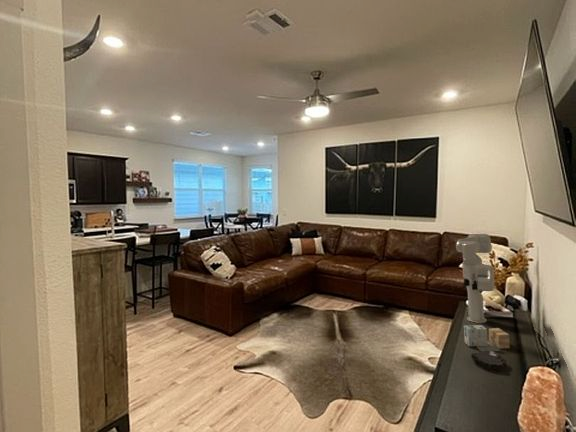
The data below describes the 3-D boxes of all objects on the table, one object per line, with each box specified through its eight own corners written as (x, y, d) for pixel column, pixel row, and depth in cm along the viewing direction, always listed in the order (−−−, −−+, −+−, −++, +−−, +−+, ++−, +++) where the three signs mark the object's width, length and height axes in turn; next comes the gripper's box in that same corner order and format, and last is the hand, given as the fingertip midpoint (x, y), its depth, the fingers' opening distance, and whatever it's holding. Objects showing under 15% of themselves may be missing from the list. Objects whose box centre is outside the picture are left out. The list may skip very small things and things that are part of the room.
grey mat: (468, 341, 201) (468, 341, 201) (486, 340, 201) (486, 340, 200) (481, 351, 187) (481, 351, 187) (500, 350, 187) (500, 350, 187)
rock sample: (512, 373, 163) (512, 364, 163) (478, 372, 166) (478, 362, 166) (497, 357, 180) (497, 348, 180) (467, 356, 183) (466, 347, 183)
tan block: (489, 341, 199) (488, 328, 199) (499, 340, 199) (498, 328, 199) (499, 348, 189) (498, 335, 189) (509, 348, 189) (509, 334, 189)
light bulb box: (481, 325, 199) (463, 325, 200) (487, 328, 192) (468, 328, 193) (482, 342, 199) (464, 342, 200) (488, 346, 192) (468, 346, 193)
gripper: (457, 259, 220) (458, 284, 220) (470, 264, 203) (472, 291, 203) (468, 259, 220) (469, 284, 220) (482, 263, 202) (484, 290, 203)
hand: (470, 287), depth 212 cm, fingers open, 9 cm apart
